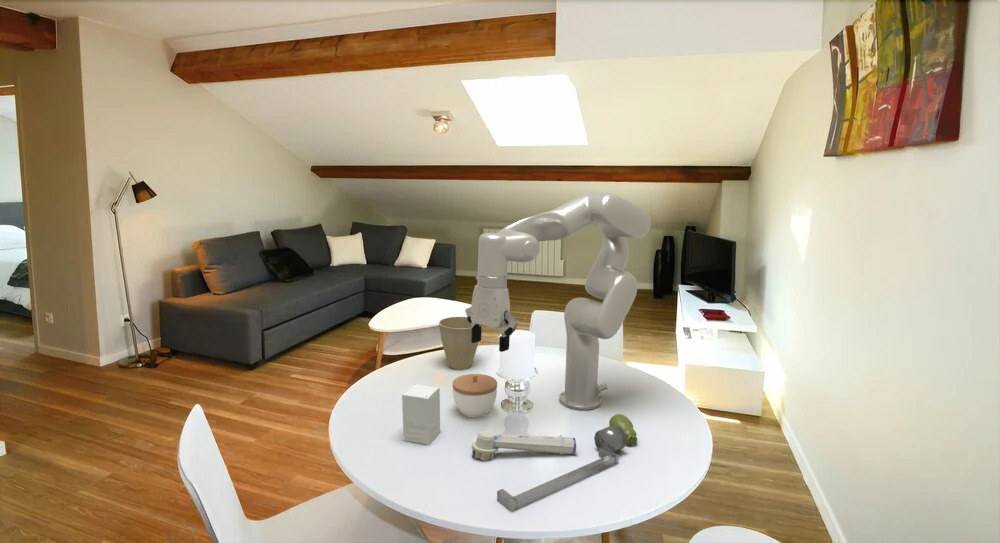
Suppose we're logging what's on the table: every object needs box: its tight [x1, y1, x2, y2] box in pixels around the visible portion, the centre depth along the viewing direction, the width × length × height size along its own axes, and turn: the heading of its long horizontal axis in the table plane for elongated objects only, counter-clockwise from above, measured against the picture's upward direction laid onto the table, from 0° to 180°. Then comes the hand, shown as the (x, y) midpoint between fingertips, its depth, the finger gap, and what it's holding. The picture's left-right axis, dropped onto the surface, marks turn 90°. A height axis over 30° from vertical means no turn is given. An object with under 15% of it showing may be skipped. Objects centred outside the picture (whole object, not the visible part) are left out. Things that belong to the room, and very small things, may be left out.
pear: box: [608, 413, 638, 447], centre depth 140 cm, size 6×5×10 cm
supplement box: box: [401, 383, 441, 446], centre depth 138 cm, size 7×7×13 cm
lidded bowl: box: [452, 373, 498, 419], centre depth 152 cm, size 13×13×11 cm
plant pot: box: [438, 316, 482, 371], centre depth 187 cm, size 15×15×16 cm
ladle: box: [496, 425, 627, 513], centre depth 123 cm, size 37×8×6 cm, turn 126°
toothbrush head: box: [471, 430, 577, 462], centre depth 131 cm, size 5×7×25 cm
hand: (489, 346), depth 140 cm, fingers open, 9 cm apart
